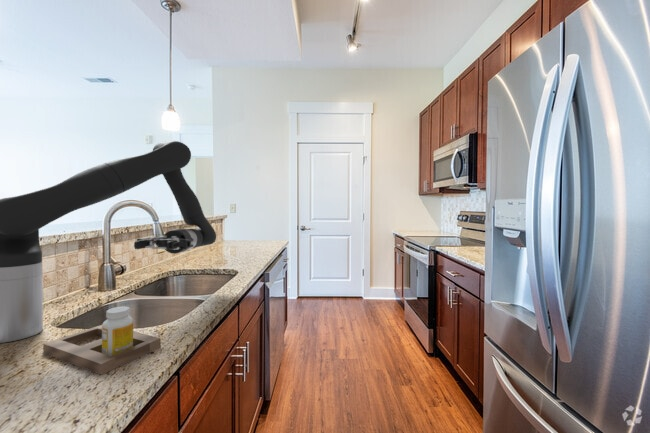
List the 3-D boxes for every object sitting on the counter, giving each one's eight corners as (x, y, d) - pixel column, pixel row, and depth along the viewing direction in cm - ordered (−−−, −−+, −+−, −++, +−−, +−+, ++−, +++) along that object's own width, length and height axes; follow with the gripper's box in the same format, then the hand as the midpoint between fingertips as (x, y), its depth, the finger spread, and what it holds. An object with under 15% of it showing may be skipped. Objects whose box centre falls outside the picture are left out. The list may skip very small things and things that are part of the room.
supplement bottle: (95, 361, 59) (95, 314, 59) (112, 348, 64) (112, 305, 64) (124, 360, 59) (123, 313, 59) (138, 348, 65) (138, 304, 64)
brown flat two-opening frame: (43, 353, 62) (43, 343, 62) (105, 331, 73) (104, 323, 73) (101, 374, 54) (101, 364, 54) (160, 347, 65) (160, 338, 65)
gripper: (158, 228, 95) (125, 231, 79) (202, 229, 95) (179, 232, 79) (158, 251, 95) (124, 258, 79) (202, 252, 95) (178, 260, 79)
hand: (152, 245), depth 79 cm, fingers open, 8 cm apart
